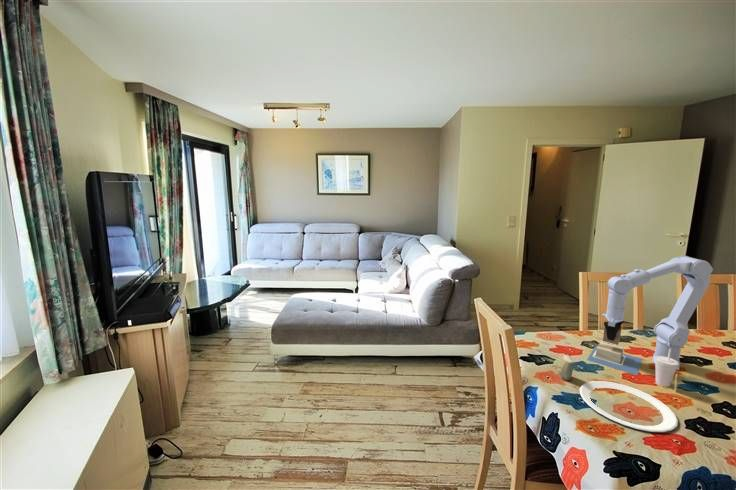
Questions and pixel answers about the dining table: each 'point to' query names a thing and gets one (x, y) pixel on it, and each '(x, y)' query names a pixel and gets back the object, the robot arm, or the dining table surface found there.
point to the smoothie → (665, 369)
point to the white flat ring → (668, 416)
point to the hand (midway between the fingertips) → (611, 337)
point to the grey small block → (565, 368)
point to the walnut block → (617, 338)
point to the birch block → (609, 352)
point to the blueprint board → (626, 364)
